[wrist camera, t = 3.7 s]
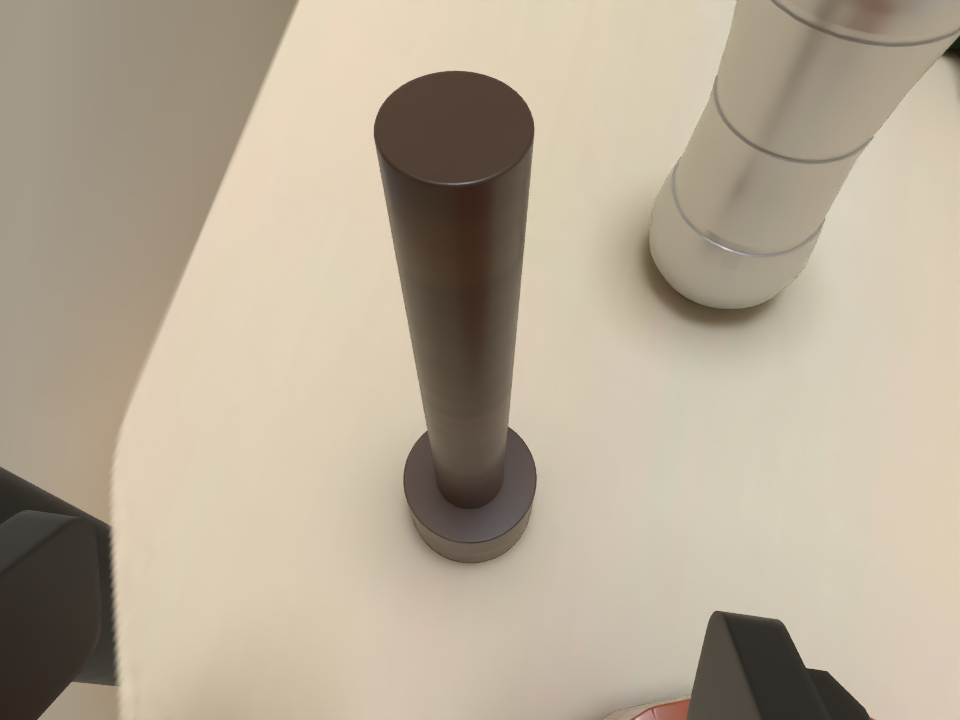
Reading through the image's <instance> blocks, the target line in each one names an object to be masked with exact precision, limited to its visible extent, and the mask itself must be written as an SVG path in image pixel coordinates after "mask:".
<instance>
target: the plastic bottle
mask: <svg viewBox="0 0 960 720" xmlns="http://www.w3.org/2000/svg"><path fill="white" fill-rule="evenodd" d="M959 36H960V0H737V1H736V6H735V11H734V16H733V21H732V25H731V30H730V33H729V37H728V40H727V43H726V46H725V50H724V53H723V56H722V59H721V62H720V66H719V70H718V74H717V76H716V79H715V82H714V85H713V89H712V92H711V95H710V98H709V101H708V103H707V105H706V107H705V109H704V111H703V113H702V115H701V117H700V119H699V122H698V124H697V126H696V128H695V130H694V132H693V134H692V136H691V138H690V140H689V142H688V144H687V146H686V149H685V151H684V153H683V155H682V156H681V157H680V159H679V160H678V162H677V163H676V164H675V166H674V167H673V169H672V170H671V172H670V174H669V175H668V177H667V178H666V180H665V182H664V184H663V186H662V188H661V189H660V191H659V193H658V195H657V197H656V199H655V201H654V205H653V208H652V213H651V224H650V237H649V245H650V250H651V255H652V257H653V260H654V262H655V264H656V267H657V268H658V269H659V271H660V272H661V274H662V275H663V277H664V278H665V279H666V281H667V282H668V283H669V284H670V285H671V286H672V287H673V288H674V289H675V290H676V291H677V292H679V293H680V294H682V295H683V296H684V297H686V298H687V299H690V300H692V301H694V302H696V303H698V304H701V305H704V306H707V307H712V308H719V309H743V308H748V307H752V306H757V305H759V304H761V303H763V302H766V301H768V300H770V299H771V298H772V297H774V296H775V295H776V294H778V293H779V292H780V291H781V290H782V289H784V288H785V287H786V286H787V285H788V284H789V283H790V282H792V281H793V280H794V279H795V278H796V277H797V276H798V275H799V274H800V272H801V271H802V270H803V269H804V267H805V265H806V263H807V261H808V259H809V257H810V255H811V253H812V251H813V249H814V246H815V244H816V242H817V240H818V238H819V235H820V233H821V230H822V227H823V224H824V221H825V216H826V215H827V213H828V211H829V209H830V207H831V205H832V204H833V202H834V200H835V198H836V196H837V194H838V192H839V191H840V189H841V187H842V185H843V183H844V181H845V180H846V178H847V176H848V174H849V172H850V170H851V169H852V167H853V165H854V163H855V161H856V159H857V158H858V157H859V155H860V154H861V153H862V152H863V150H864V149H865V148H866V146H867V145H868V144H869V142H870V141H871V140H872V139H873V136H874V135H875V134H876V133H877V131H878V130H879V129H880V128H881V127H882V125H883V124H884V123H885V122H886V120H887V119H888V118H889V116H890V115H891V114H892V112H893V111H894V110H895V108H896V107H897V106H898V104H899V103H900V102H901V100H902V99H903V98H904V97H905V95H906V94H907V93H908V91H909V90H910V89H911V88H912V87H913V86H914V85H915V84H916V83H917V82H918V81H919V79H920V78H921V77H922V76H923V75H924V74H925V73H926V72H927V71H928V70H929V69H930V67H931V66H932V65H933V64H934V63H935V62H936V61H937V60H938V59H939V58H940V57H941V55H942V54H943V53H944V52H945V51H946V50H947V49H948V48H949V47H950V46H951V45H952V43H953V42H954V41H955V40H956V39H957V38H958V37H959Z"/></svg>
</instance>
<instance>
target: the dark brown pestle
mask: <svg viewBox="0 0 960 720" xmlns="http://www.w3.org/2000/svg"><path fill="white" fill-rule="evenodd" d="M374 139H375V145H376V150H377V156H378V161H379V166H380V172H381V177H382V183H383V188H384V194H385V199H386V205H387V210H388V216H389V221H390V227H391V232H392V238H393V243H394V249H395V254H396V260H397V265H398V271H399V276H400V282H401V287H402V292H403V298H404V303H405V309H406V314H407V320H408V325H409V331H410V336H411V342H412V347H413V353H414V358H415V364H416V369H417V375H418V380H419V386H420V391H421V397H422V402H423V407H424V413H425V418H426V424H427V429H428V431H426V432H425V433H424V434H423V435H422V436H421V437H420V438H419V439H418V441H417V442H416V443H415V445H414V446H413V448H412V450H411V451H410V453H409V456H408V458H407V461H406V465H405V469H404V491H405V495H406V499H407V502H408V505H409V508H410V511H411V514H412V517H413V520H414V523H415V526H416V528H417V530H418V532H419V534H420V535H421V537H422V539H423V540H424V541H425V542H426V543H427V544H428V545H429V546H430V547H431V548H432V549H433V550H434V551H436V552H437V553H439V554H440V555H442V556H444V557H446V558H449V559H451V560H454V561H459V562H466V563H476V562H483V561H487V560H490V559H493V558H496V557H498V556H500V555H502V554H503V553H505V552H506V551H507V550H509V549H510V548H511V547H512V546H513V545H514V544H515V543H516V542H517V541H518V540H519V538H520V537H521V535H522V534H523V532H524V530H525V528H526V526H527V523H528V520H529V517H530V513H531V508H532V504H533V500H534V495H535V490H536V480H537V476H536V468H535V463H534V460H533V457H532V455H531V452H530V450H529V449H528V447H527V445H526V444H525V442H524V441H523V440H522V438H521V437H520V436H519V435H518V434H517V433H516V432H514V431H513V430H512V429H511V428H509V427H508V420H509V409H510V398H511V387H512V376H513V365H514V353H515V342H516V331H517V320H518V309H519V298H520V286H521V275H522V264H523V253H524V242H525V231H526V219H527V208H528V197H529V186H530V175H531V164H532V152H533V141H534V121H533V117H532V114H531V112H530V110H529V108H528V106H527V104H526V103H525V101H524V100H523V98H522V97H521V96H520V95H519V94H518V93H517V92H516V91H515V90H513V89H512V88H511V87H509V86H508V85H506V84H505V83H503V82H501V81H499V80H497V79H495V78H492V77H489V76H486V75H483V74H479V73H474V72H466V71H445V72H437V73H432V74H428V75H425V76H422V77H419V78H416V79H414V80H412V81H409V82H408V83H406V84H404V85H402V86H401V87H399V88H398V89H397V90H395V91H394V92H393V93H392V94H391V95H390V96H389V97H388V98H387V99H386V100H385V102H384V103H383V104H382V106H381V108H380V110H379V112H378V114H377V117H376V120H375V125H374Z"/></svg>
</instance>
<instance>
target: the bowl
mask: <svg viewBox="0 0 960 720" xmlns="http://www.w3.org/2000/svg"><path fill="white" fill-rule="evenodd" d="M690 699H691V695H688V696H683V697H678V698H673V699H669V700H664V701H659V702H654V703H649V704H644V705H639V706H634V707H630V708H625V709H620V710H618V711H615V712H613V713H612V714H610V715H609V716H607V717H606V718H604V719H602V720H687V712H688V707H689V703H690ZM870 719H871V720H875V719H873V718H870Z"/></svg>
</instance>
